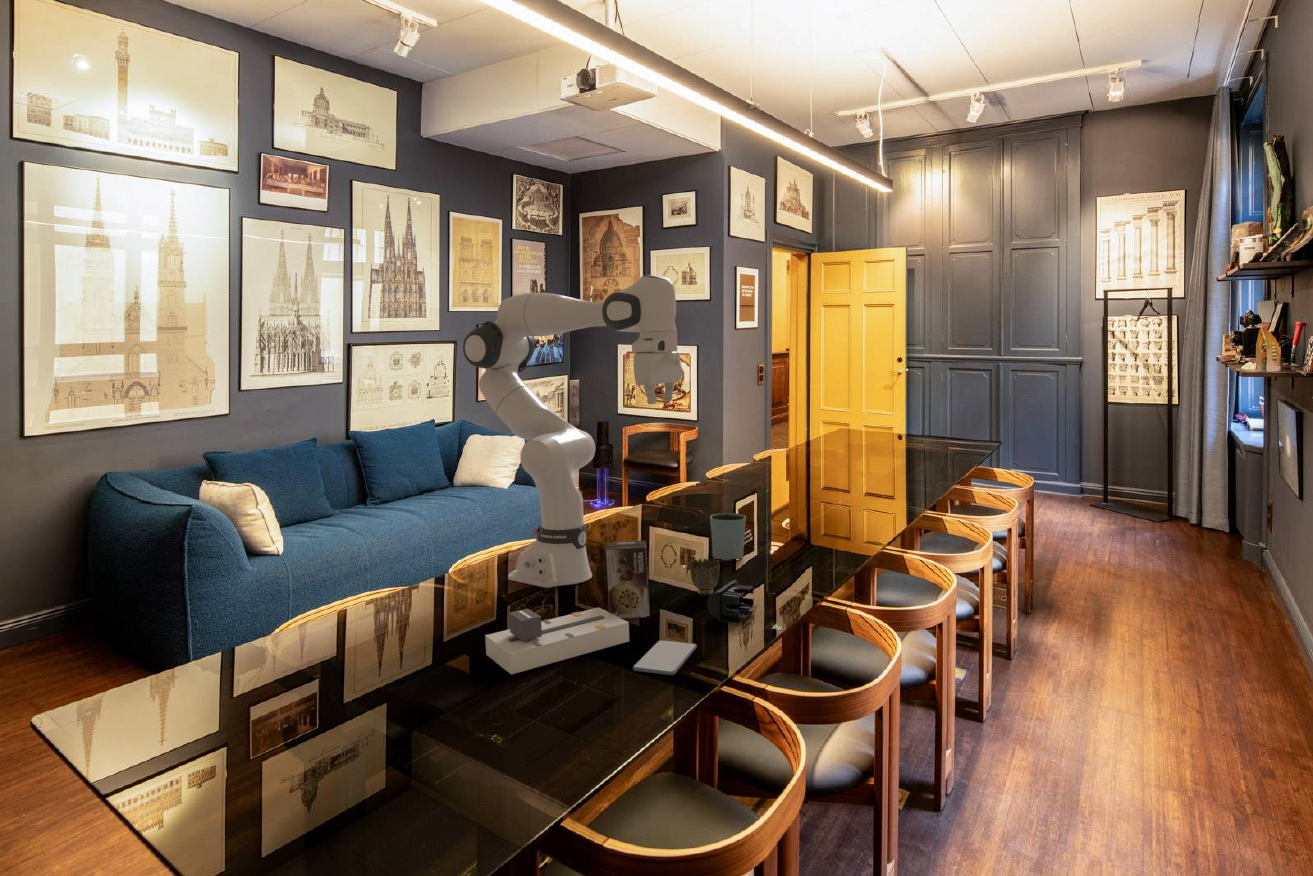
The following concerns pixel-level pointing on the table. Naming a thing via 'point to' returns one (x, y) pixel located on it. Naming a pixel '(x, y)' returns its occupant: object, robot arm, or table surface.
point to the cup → (704, 575)
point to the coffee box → (627, 579)
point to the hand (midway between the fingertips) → (660, 402)
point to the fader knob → (525, 624)
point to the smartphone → (665, 657)
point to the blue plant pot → (727, 535)
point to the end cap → (731, 602)
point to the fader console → (558, 640)
